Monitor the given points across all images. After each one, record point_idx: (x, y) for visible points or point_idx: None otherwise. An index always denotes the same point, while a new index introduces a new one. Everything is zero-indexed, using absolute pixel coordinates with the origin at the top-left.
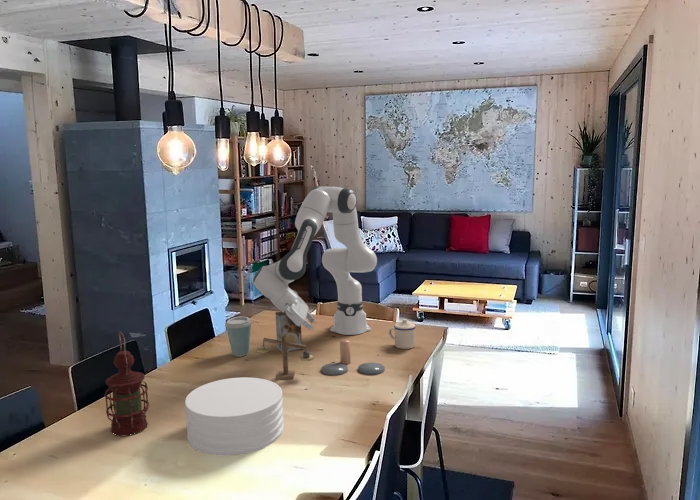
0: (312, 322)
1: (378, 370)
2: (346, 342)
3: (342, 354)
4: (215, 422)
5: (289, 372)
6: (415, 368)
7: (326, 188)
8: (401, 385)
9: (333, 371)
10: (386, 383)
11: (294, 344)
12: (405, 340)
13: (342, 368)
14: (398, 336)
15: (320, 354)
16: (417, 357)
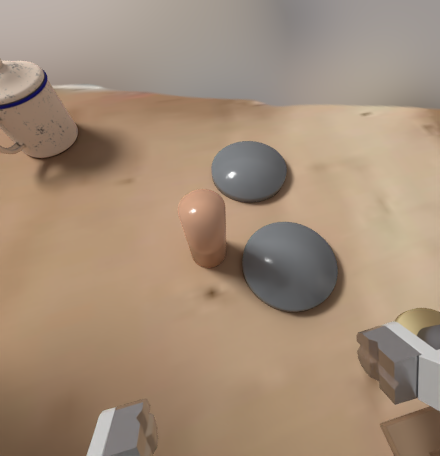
0: (155, 425)
1: (266, 149)
2: (221, 197)
3: (225, 240)
4: None
5: (423, 446)
6: (213, 100)
7: None
8: (319, 106)
9: (323, 256)
10: (322, 130)
11: None
12: (65, 112)
13: (286, 236)
14: (49, 117)
15: (128, 379)
16: (141, 106)
